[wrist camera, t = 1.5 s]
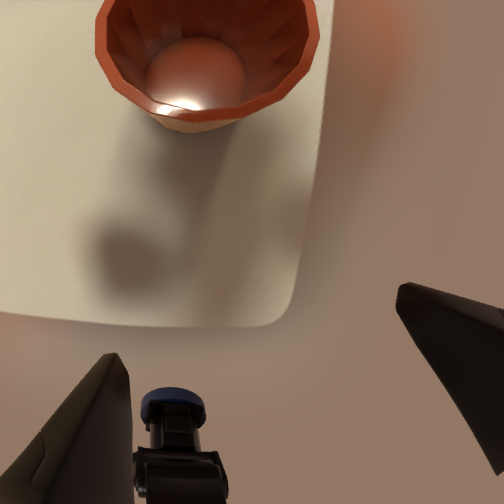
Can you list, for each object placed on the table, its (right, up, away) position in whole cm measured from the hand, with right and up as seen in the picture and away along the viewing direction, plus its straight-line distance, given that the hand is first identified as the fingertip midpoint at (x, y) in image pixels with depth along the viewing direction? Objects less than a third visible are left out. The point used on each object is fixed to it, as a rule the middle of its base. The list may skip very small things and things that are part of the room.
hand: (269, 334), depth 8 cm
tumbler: (-4, +14, +8) cm, 16 cm away
